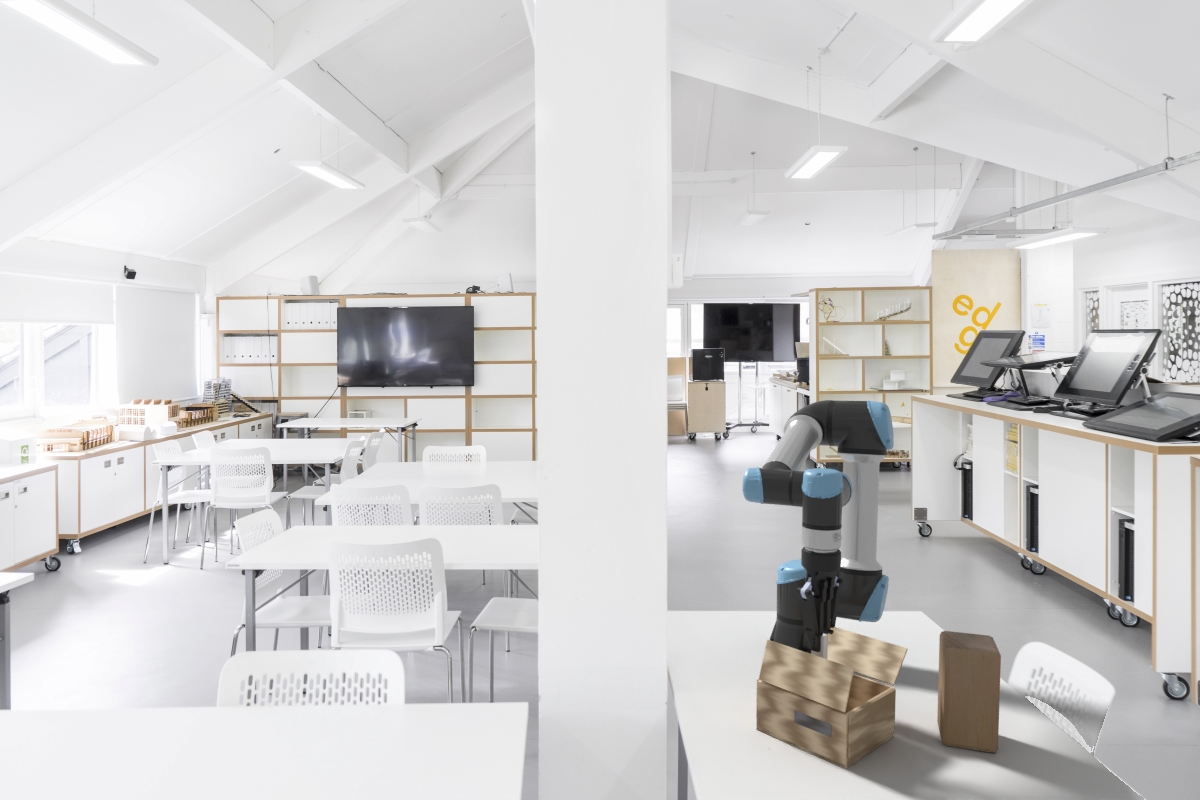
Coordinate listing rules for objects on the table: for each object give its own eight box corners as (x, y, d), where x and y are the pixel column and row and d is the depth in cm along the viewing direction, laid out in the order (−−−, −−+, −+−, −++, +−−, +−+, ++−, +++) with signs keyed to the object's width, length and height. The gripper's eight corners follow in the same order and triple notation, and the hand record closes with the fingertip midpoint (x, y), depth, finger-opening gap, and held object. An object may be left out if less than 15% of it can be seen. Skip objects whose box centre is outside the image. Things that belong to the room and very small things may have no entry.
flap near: (758, 679, 155) (767, 639, 156) (759, 679, 155) (768, 639, 157) (844, 712, 141) (853, 668, 142) (845, 712, 141) (854, 668, 142)
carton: (754, 728, 156) (754, 680, 156) (804, 702, 168) (805, 657, 168) (847, 770, 141) (848, 717, 140) (896, 737, 153) (897, 688, 152)
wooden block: (990, 731, 155) (993, 634, 154) (998, 755, 146) (1001, 652, 145) (936, 723, 159) (939, 628, 157) (941, 746, 149) (944, 646, 148)
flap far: (809, 656, 167) (823, 623, 170) (810, 656, 167) (824, 624, 171) (893, 684, 153) (907, 648, 156) (894, 685, 153) (907, 649, 156)
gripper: (819, 557, 144) (817, 680, 145) (856, 546, 152) (853, 662, 154) (785, 550, 149) (783, 668, 151) (822, 539, 158) (820, 651, 159)
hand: (819, 665), depth 152 cm, fingers closed
